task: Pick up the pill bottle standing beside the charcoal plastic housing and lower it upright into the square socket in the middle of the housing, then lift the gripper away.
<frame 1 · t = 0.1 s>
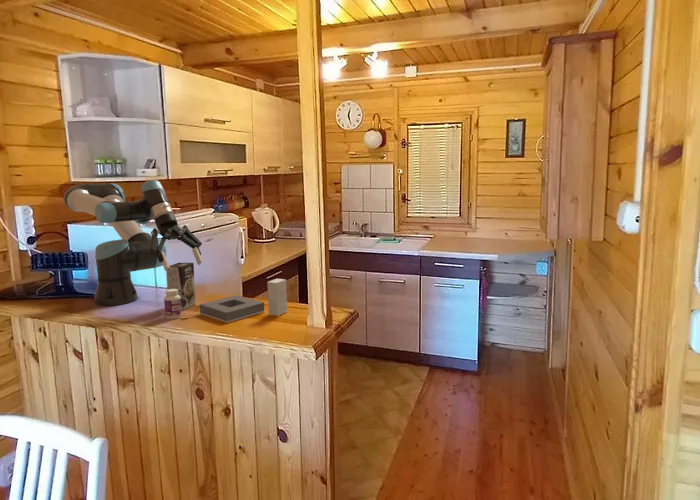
hand: (184, 266, 182), 15 cm above the countertop, tool tilted 35°, fingers open, 13 cm apart
housing: (232, 312, 176), on the countertop
skincare box: (277, 313, 175), on the countertop
coffee box: (182, 307, 184), on the countertop, touching gripper
pill bottle: (173, 317, 172), on the countertop
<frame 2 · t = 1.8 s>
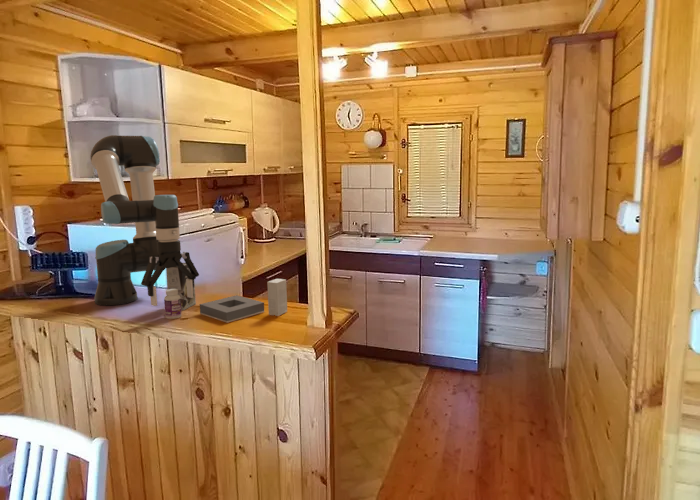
hand: (172, 301, 170), 6 cm above the countertop, tool pointing down, fingers open, 13 cm apart
coffee box: (182, 307, 184), on the countertop
everything else where it was.
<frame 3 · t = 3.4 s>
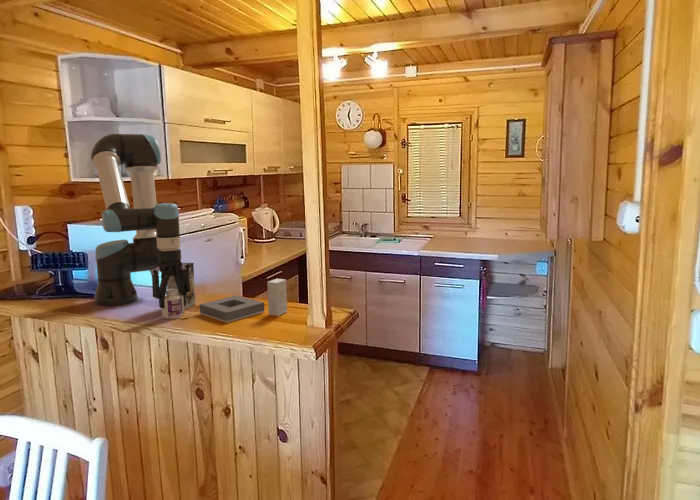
hand: (173, 314, 171), 1 cm above the countertop, tool pointing down, fingers closed on pill bottle, 5 cm apart
pill bottle: (173, 317, 172), on the countertop, touching gripper
everything else where it was.
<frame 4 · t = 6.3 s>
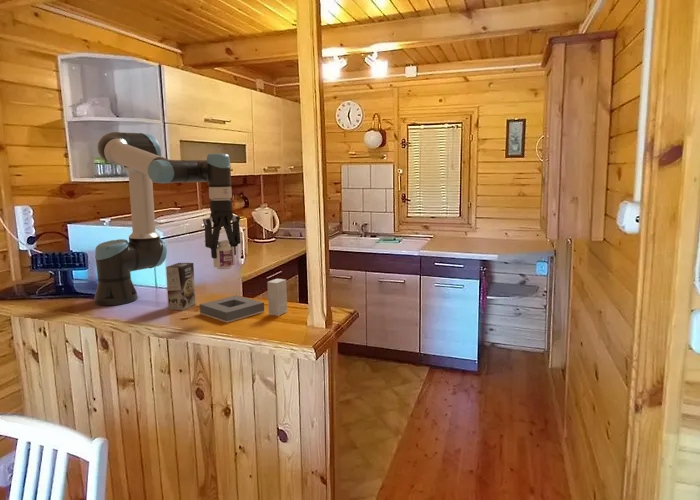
hand: (224, 265, 172), 17 cm above the countertop, tool pointing down, fingers closed on pill bottle, 5 cm apart
pill bottle: (224, 268, 172), point 16 cm above the countertop, touching gripper
everything else where it was.
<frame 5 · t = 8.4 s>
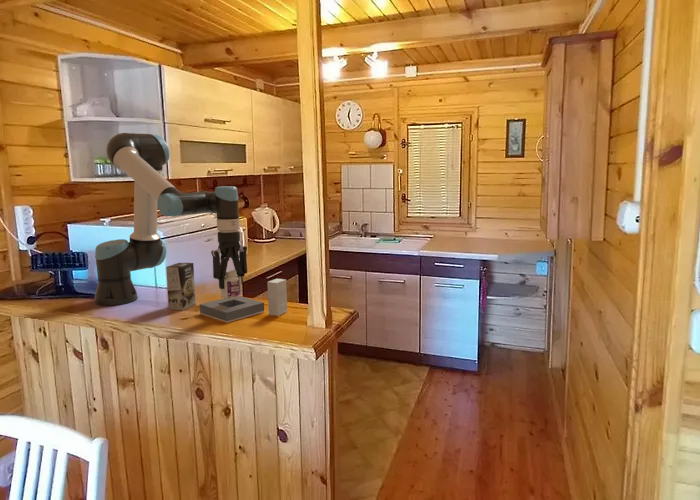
hand: (231, 295, 175), 6 cm above the countertop, tool pointing down, fingers closed on pill bottle, 5 cm apart
pill bottle: (232, 298, 175), point 5 cm above the countertop, touching gripper
everything else where it was.
when the fingers open (4 cm above the countertop, at t = 9.6 s): pill bottle drops 3 cm, resting on housing.
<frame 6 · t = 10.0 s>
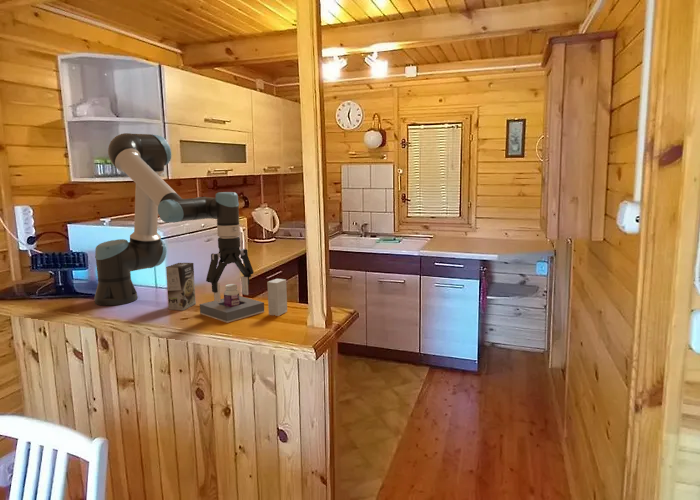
hand: (231, 297, 175), 6 cm above the countertop, tool pointing down, fingers open, 11 cm apart
pill bottle: (232, 311, 176), resting on housing
everything else where it was.
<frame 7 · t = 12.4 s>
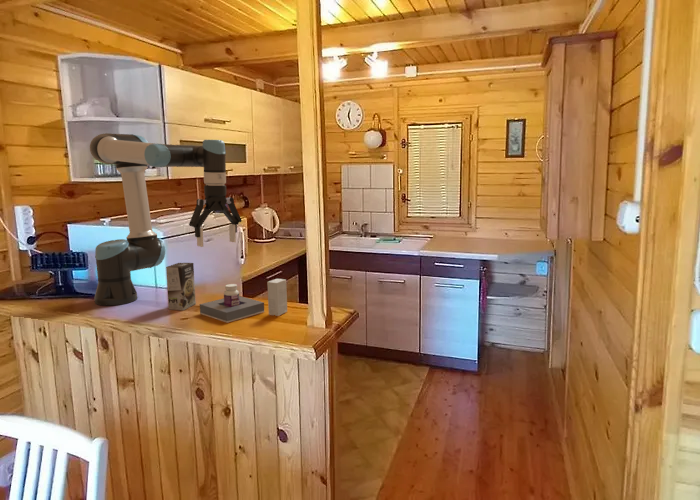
hand: (216, 244, 177), 24 cm above the countertop, tool pointing down, fingers open, 13 cm apart
nothing on the countertop moved.
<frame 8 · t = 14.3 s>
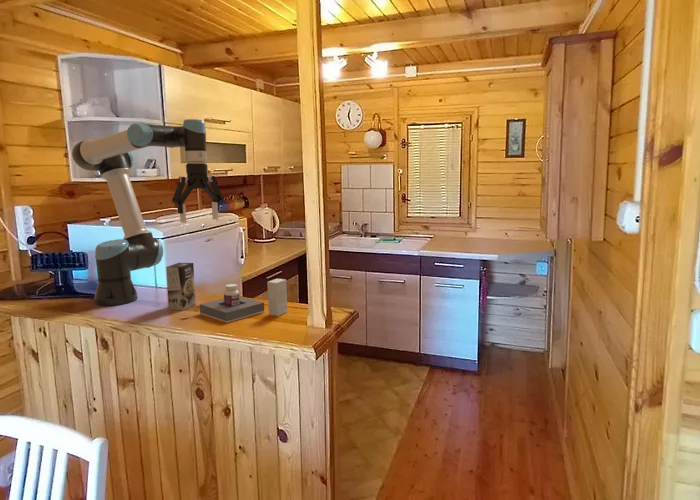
hand: (199, 220, 183), 32 cm above the countertop, tool pointing down, fingers open, 13 cm apart
nothing on the countertop moved.
at the end: pill bottle 0.0 cm off-centre on the housing, point 0.3 cm above the housing's base; pill bottle tilted 0°; the gripper is holding nothing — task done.
